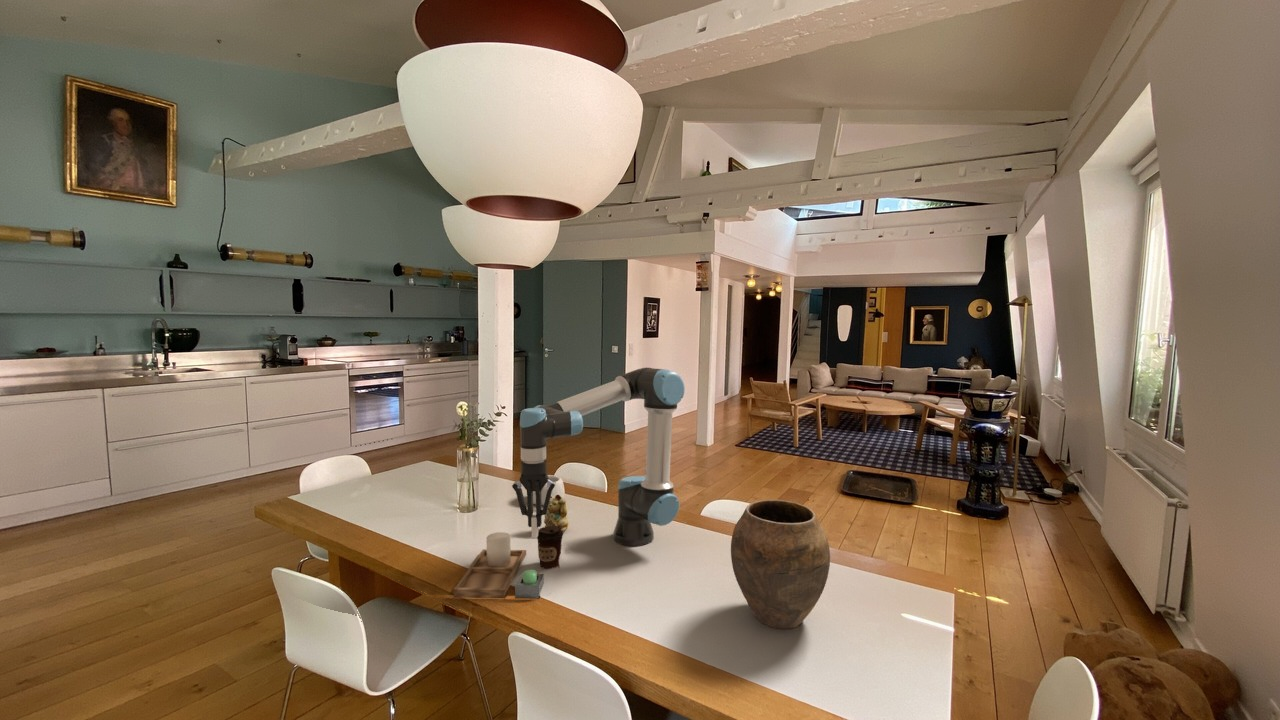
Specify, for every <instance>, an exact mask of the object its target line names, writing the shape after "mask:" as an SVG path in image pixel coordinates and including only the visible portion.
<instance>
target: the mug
mask: <svg viewBox="0 0 1280 720" xmlns="http://www.w3.org/2000/svg"><path fill="white" fill-rule="evenodd" d="M547 476H548V478H549V480H550V481H552V482H555V483H556V485H555V487H554V488H553V490H552V494H551V495H552V496H553V497H555V496H556V495H558V494H560V495H561V497H562V499H565V495H566V494H565V491H566V490H565V486H564V481H563V479H562V477H559V475H558V476H557V475H552V474H547ZM547 491H548V488H547V483H546V484H545V486H544V487H543V489H542V492H541V501H542V507H544V503H545V499H546V494H547ZM533 505H535V506H536V494H535V491H533Z"/></svg>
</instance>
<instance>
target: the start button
mask: <svg viewBox="0 0 1280 720" xmlns="http://www.w3.org/2000/svg"><path fill="white" fill-rule="evenodd" d="M522 574H523V583H536V582H537V574H538V573H537V571H536V570H535V569H526V570H524V571H523V572H522Z"/></svg>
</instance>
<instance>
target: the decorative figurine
mask: <svg viewBox="0 0 1280 720" xmlns="http://www.w3.org/2000/svg"><path fill="white" fill-rule="evenodd" d="M567 516H568V511H567V501H566V499H565V498H564V499H562V497H561V495H560V494H558V495H556V496H555V497H553V496H552V495H551V498H550V502H549V506H548V511H547V513H546V515H544V520H543V523H544V524H545V525H544V527H547V526H557V527H560V528H561V531H562V532H563V533H565V531H567V530H568V528H569V520H568V519H567Z"/></svg>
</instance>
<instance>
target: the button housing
mask: <svg viewBox="0 0 1280 720" xmlns="http://www.w3.org/2000/svg"><path fill="white" fill-rule="evenodd" d="M544 584H545V574H544V573H537V582H536V583H523V573H521V574H520V575H519V576H518V578H517V580H516V583H515V585H514V589H515V590H514V594H515V595H514V598H515V599H521V600H522V599H525V600H528V599H529V600H534V599H535V600H540V598H541V595H540V594H541V592H542V589H543V587H544Z"/></svg>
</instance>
